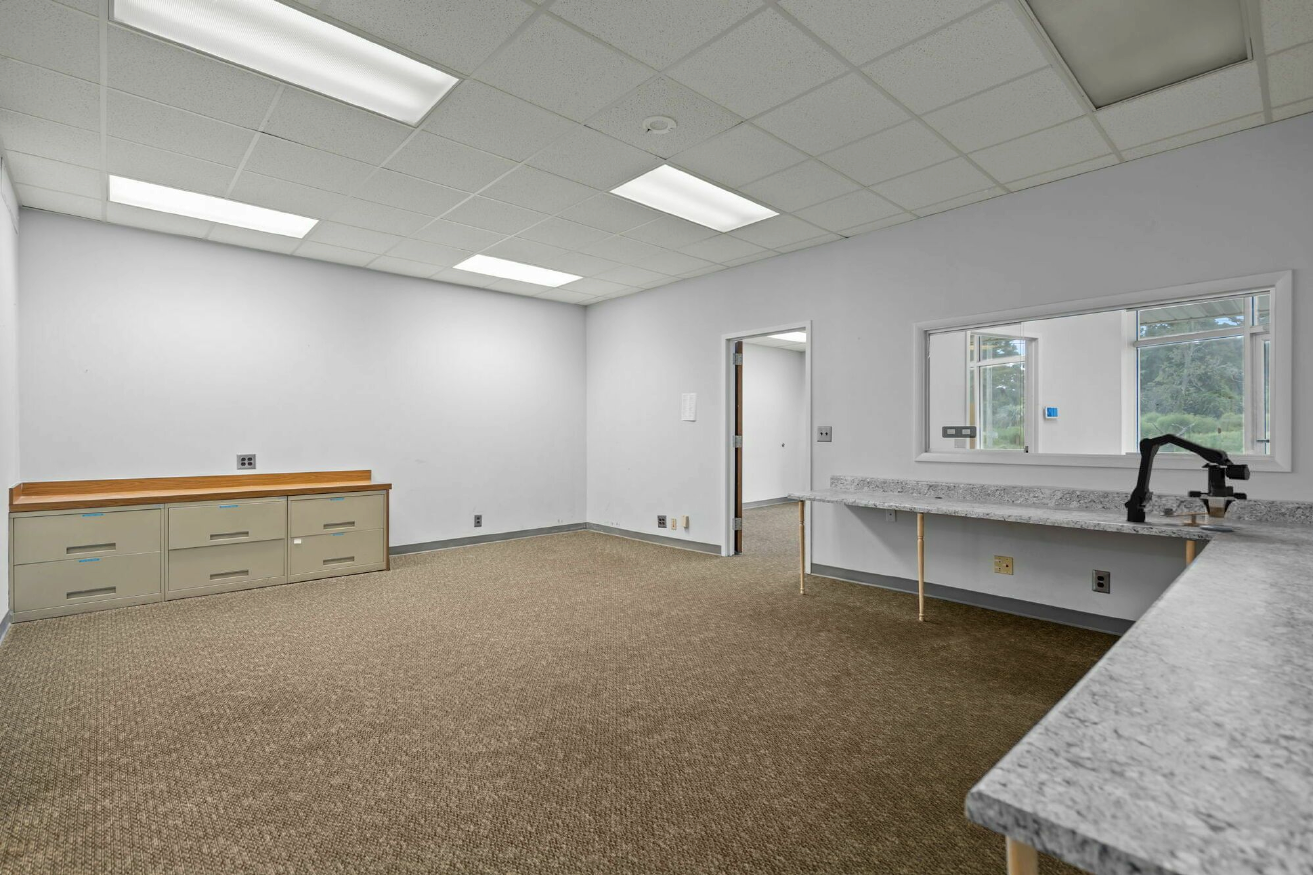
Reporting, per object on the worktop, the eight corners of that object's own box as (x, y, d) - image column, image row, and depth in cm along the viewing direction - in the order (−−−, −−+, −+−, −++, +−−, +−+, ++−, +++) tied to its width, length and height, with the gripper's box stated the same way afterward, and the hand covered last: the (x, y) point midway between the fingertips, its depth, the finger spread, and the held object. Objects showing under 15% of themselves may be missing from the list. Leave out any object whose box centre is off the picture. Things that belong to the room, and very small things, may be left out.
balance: (1160, 523, 290) (1160, 507, 290) (1159, 522, 295) (1159, 505, 295) (1230, 528, 277) (1230, 510, 277) (1227, 526, 282) (1227, 509, 282)
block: (1210, 517, 272) (1210, 507, 272) (1208, 516, 276) (1208, 506, 276) (1224, 518, 270) (1224, 507, 270) (1222, 517, 274) (1222, 506, 273)
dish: (1202, 530, 271) (1202, 527, 271) (1197, 527, 280) (1197, 524, 280) (1236, 532, 265) (1236, 529, 265) (1230, 529, 274) (1230, 526, 274)
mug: (1205, 524, 288) (1205, 498, 288) (1203, 523, 293) (1203, 497, 293) (1235, 526, 282) (1235, 499, 282) (1232, 524, 287) (1233, 498, 287)
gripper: (1191, 479, 271) (1191, 515, 271) (1250, 481, 261) (1249, 518, 261) (1187, 477, 280) (1187, 512, 281) (1243, 479, 270) (1243, 515, 270)
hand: (1216, 514), depth 273 cm, fingers closed on block, 4 cm apart
